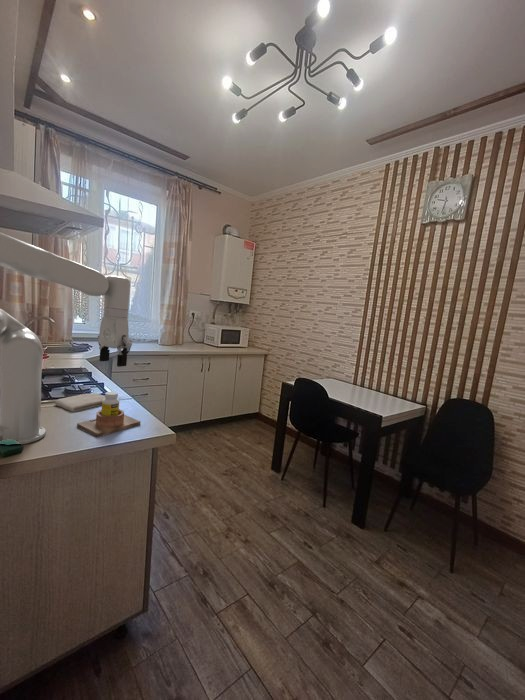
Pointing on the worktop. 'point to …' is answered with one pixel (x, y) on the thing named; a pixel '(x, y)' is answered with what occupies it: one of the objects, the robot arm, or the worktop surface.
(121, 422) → the cup station
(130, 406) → the worktop surface
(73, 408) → the washcloth
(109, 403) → the supplement bottle
